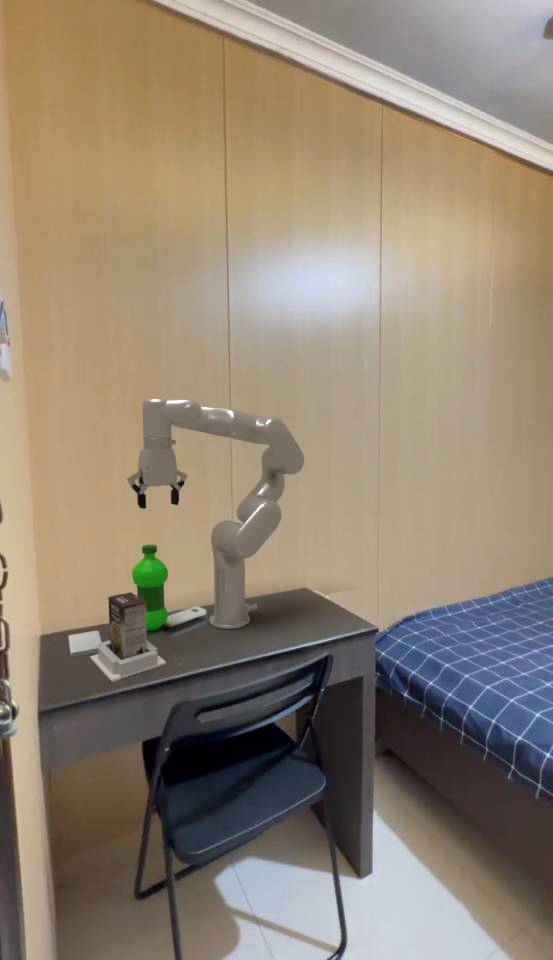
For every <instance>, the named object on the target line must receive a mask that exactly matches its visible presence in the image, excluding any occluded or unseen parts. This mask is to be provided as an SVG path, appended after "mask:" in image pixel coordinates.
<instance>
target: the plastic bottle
mask: <svg viewBox="0 0 553 960" xmlns="http://www.w3.org/2000/svg"><path fill="white" fill-rule="evenodd" d="M157 547H158V546H157V545H156V544H145V545H142V546H141V549H142V550H141V553H142V554H143V555H144V556H143V558H142V559H141V560H139V561H138V562H137V563H136V564H135V565H134V567H133V568H132V571H131V575H132V580H133V584H134V585H135V586H136V594H137V595H136V596H138V597H139V598H141V599H143V600H144V601H146V629H147V632H153V631H157V630H159V629H160V628H161V627H162V626H163V625H164V624H165V623H166V622H167V620H168V618H169V615H168V610H167V609H166V606H165V585H164V584H165V583H166V582H167V581H168V578H169V570H168V569H167V568H168V567H167V565H166V564H165V563H164V562H163V561H162V560H160V559H159V558H157V557H156V553H157V552H158V548H157Z"/></svg>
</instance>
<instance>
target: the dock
mask: <svg viewBox="0 0 553 960" xmlns="http://www.w3.org/2000/svg"><path fill="white" fill-rule="evenodd" d="M101 642H102V641H101ZM158 650H159V649H158V648H157V647H156V646H154V645H153V644H152V643H151V642H150V641H148V640H147V652H146V653H143V654H139V655H136V656H133V657H130V658H126V659H123V660H120V659H119V658H118V657H117V656H116V655H115V654H114V653H113V652H112V651H111V650H110V639H108V640H106V641H103V642H102V643H99V647H98V652H97V654H94V655H91V656H89V657H90V660H91V661H92V662H93V664H95V666H97V668H98V669H99V670H100V671H101V672H102V673H103V675H105V676H106V678H108V679H109V681H111V683H114V682H117V681H120V680H123V679H126V678H129V677H131V675H132V676H134V674H135V675H138V674H140V672H141V673H143V671H144V672H147V671H150V670H152V669H155V668H158V667H161V666H164V665H167V661H165V660H164V659H163V658H162V657H161V656H160V655H158V653H159V651H158ZM137 673H138V674H137ZM128 676H129V677H128ZM125 677H126V678H125ZM122 678H123V679H122Z"/></svg>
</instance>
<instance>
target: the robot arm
mask: <svg viewBox="0 0 553 960" xmlns="http://www.w3.org/2000/svg"><path fill="white" fill-rule="evenodd" d="M141 409H142V438H143V439H142V441H143V444H142V445H143V448H142V449H140V451H139V456H138V465H137V472H134V474H131V475H130V476H129V477H127V478H126V480H127V482H128V484H129V486H130V488H131V489H132V490H133V491H134V492H135V494H136V495H137V496H136V497H137V499H136V500H137V506H138V508H140V509H143V510H145V509H146V508H147V494H146V493H145V492H146V491H147V489H148V488H149V487H163V486H170V488H171V490H170V504H171V505H174V506H178V505H179V503H180V502H179V501H180V491H181V489H182V487H183V486H184V485H185V483H186V481H187V478H188V475H187V474H186V473H185V472H183V471H181V470H178V466H177V459H176V454H175V450H174V449H173V446H175V445H176V444H177V443H176V442H177V441H176V440H175V439H173V438H172V427H176V428H180V429H185V430H190V431H195V432H201V433H205V434H209V435H213V436H217V437H223V438H227V439H233V440H239V441H242V442H247V443H249V444H256V445H266V446H267V445H268V446H269V447H267V448H266V449H264V450H263V452H262V454H261V459H260V460H261V462H260V463H261V470H262V471H261V477H260V480H259V481H258V482H257V484H256V485H255V487H253V488H252V490H251V491H250V492H249V493H248V494H247V495H246V496H245V497H244V498H243V499H242V501H241V502H240V503H239V505H238V506H237V509H236V516H237V518H238V521H240V522H241V523H239V522H237V521H233V520H221V521H220V522H218V523H216V524H215V526H214V527H213V529H212V531H211V534H210V535H211V536H210V543H211V549H212V555H213V581H214V582H213V588H214V590H213V593H214V596H213V597H214V598H213V599H214V600H213V603H214V606H213V607H214V608H213V609H214V612H213V613H212V614H211V615H210V616H209V621H208V622H209V624H210V625H211V626H212V627H214V628H218V629H224V630H234V629H240V628H242V627H245V626H247V625H248V624H250V621H251V616H250V615H249V613H250V612H252V611H257V610H258V609H259V607H258V604H257V603H252V604H250V603H246V564H245V562H246V561H245V559H248V558H250V557H253V555H255V554H256V553H257V552H258V551H259V550H260V549H261V547H262V546H263V545H264V544H265V543H266V542H267V540H268V539H269V538H270V537H271V536H272V535H273V534H274V532H275V531H276V529H278V526H279V525H280V524H281V523H280V522H281V520H282V509H281V507H280V505H279V504H278V501H279V500H280V499H281V497H282V495H283V494H284V492H285V484H286V483H285V481H286V480H285V475H290V476H291V475H293V476H294V475H297V474H298V473H300V472H301V471H302V469H303V468H304V466H305V457H304V456H305V455H304V454H303V450H302V449H301V447H300V446H299V444H298V442H297V441H296V439H295V437H294V436H293V434H292V432H291V431H290V429H289V427H288V426H287V425H286V424H285V423H284V421H283V420H282V419H280V418H278V417H277V416H259V415H255V414H251V413H247V412H243V411H240V410H237V409H236V410H235V409H233V408H232V409H231V408H225V407H224V408H223V407H207V406H200V405H199V403H198V402H197V401H195V400H193V399H190V398H179V399H165V398H147V399H144V400H143V402H142V408H141ZM178 477H179V480H178ZM136 480H137V483H138V485H137V483H136Z"/></svg>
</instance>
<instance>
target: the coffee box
mask: <svg viewBox="0 0 553 960" xmlns="http://www.w3.org/2000/svg"><path fill="white" fill-rule="evenodd" d="M108 621H109V640H110V650H111V651H112V652H113V653H114V654H115V655H116V656H117V657H118V658H119V659H120V660H123V659H126V658H130V657H133V656H136V655H139V654H143V653H146V652H147V641H148V639H147V633H148V631H147V629H146V601H144V600H143V599H141V598H139V597H138V596H137V595H136V594H135V593H133V592H131V591H129V592H126V593H119V594H115V595H111V596H108Z"/></svg>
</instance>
